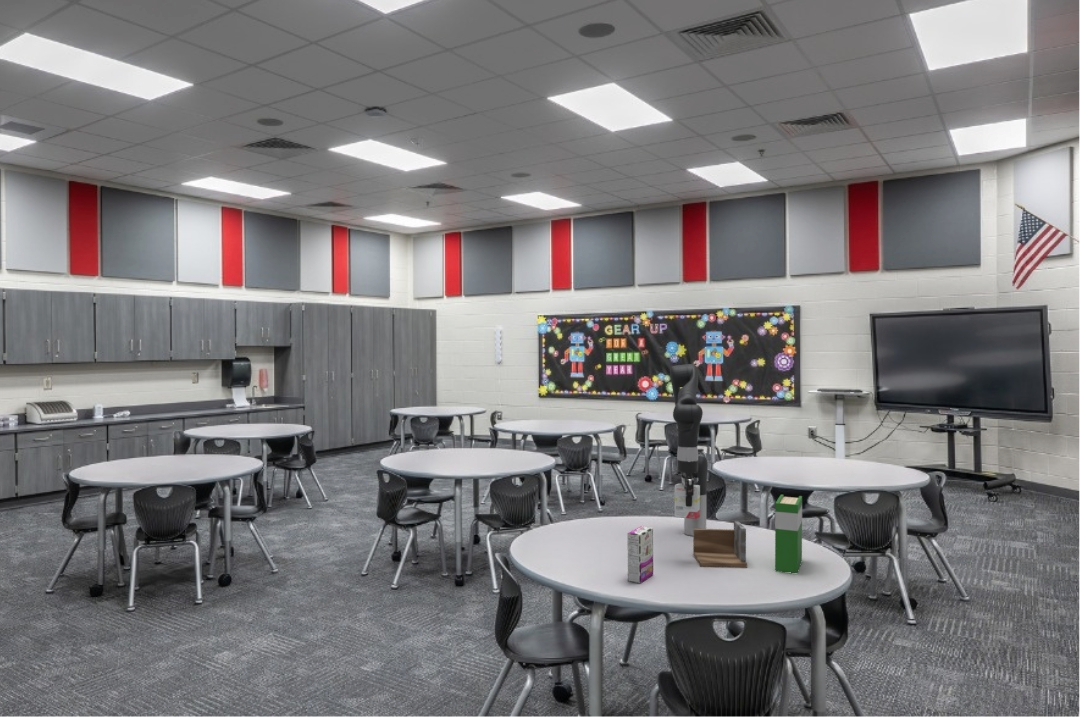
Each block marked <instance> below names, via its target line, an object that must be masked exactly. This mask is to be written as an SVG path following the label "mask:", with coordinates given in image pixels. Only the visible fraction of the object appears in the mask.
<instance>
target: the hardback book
mask: <svg viewBox="0 0 1080 717" xmlns="http://www.w3.org/2000/svg"><path fill="white" fill-rule="evenodd" d="M774 504H775V505H774V507H775V511H774V512H775V514H774V515H775V517H774V518H775V519H774V521H775V523H774V524H775V525H774V528H775V529H774V537H775V538H774V540H775V541H774V542H775V543H774V544H775V546H774V551H775V552H774V553H775V554H774V556H775V557H774V561H775V562H774V571H775V570H776V571H775V572H777V571H782V572H781V573H785V572H791V573H790V574H792V573H798V574H799V571H800V568H801V565H802V562H801V561H803V496H802V495H799V496H798V497H791V496H784V494H780V495H779V497H778V498H777V500H776V501H775V503H774ZM800 564H801V565H800ZM799 567H800V568H799ZM798 570H799V571H798Z"/></svg>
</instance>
